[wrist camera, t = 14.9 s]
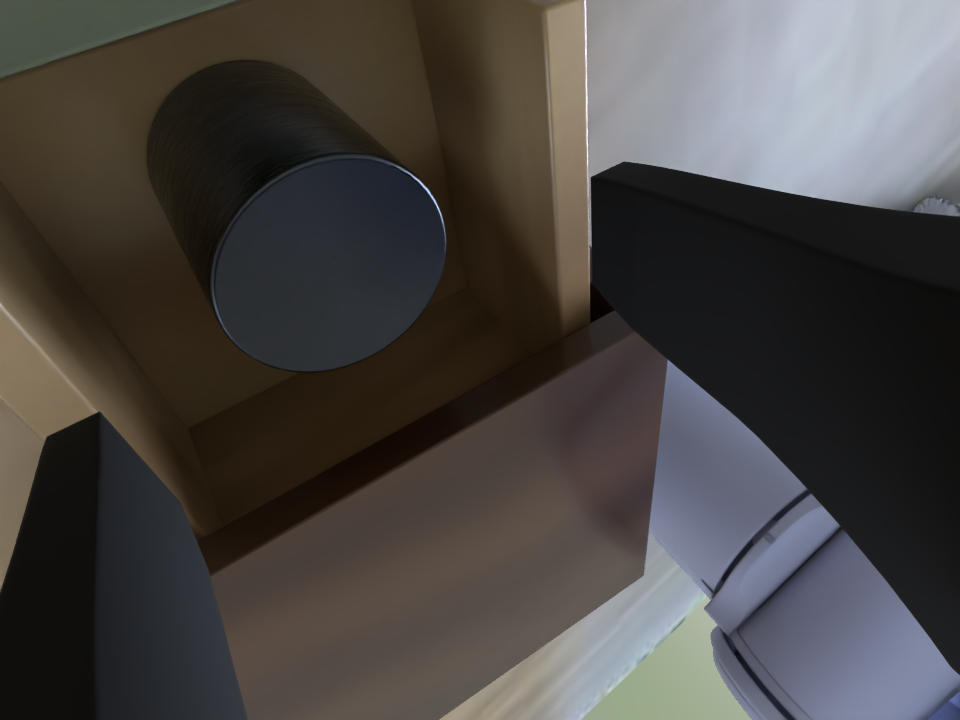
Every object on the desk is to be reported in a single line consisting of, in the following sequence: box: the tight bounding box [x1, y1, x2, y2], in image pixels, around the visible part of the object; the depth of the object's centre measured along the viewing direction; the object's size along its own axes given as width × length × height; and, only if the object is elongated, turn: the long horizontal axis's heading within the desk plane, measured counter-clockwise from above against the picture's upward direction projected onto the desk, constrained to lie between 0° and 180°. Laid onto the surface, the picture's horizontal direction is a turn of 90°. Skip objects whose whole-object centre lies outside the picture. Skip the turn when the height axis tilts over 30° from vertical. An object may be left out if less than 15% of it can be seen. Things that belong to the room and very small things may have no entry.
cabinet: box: [197, 246, 668, 720], centre depth 19 cm, size 13×12×8 cm
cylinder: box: [146, 60, 446, 373], centre depth 12 cm, size 4×4×4 cm
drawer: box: [0, 0, 590, 541], centre depth 11 cm, size 16×11×6 cm
